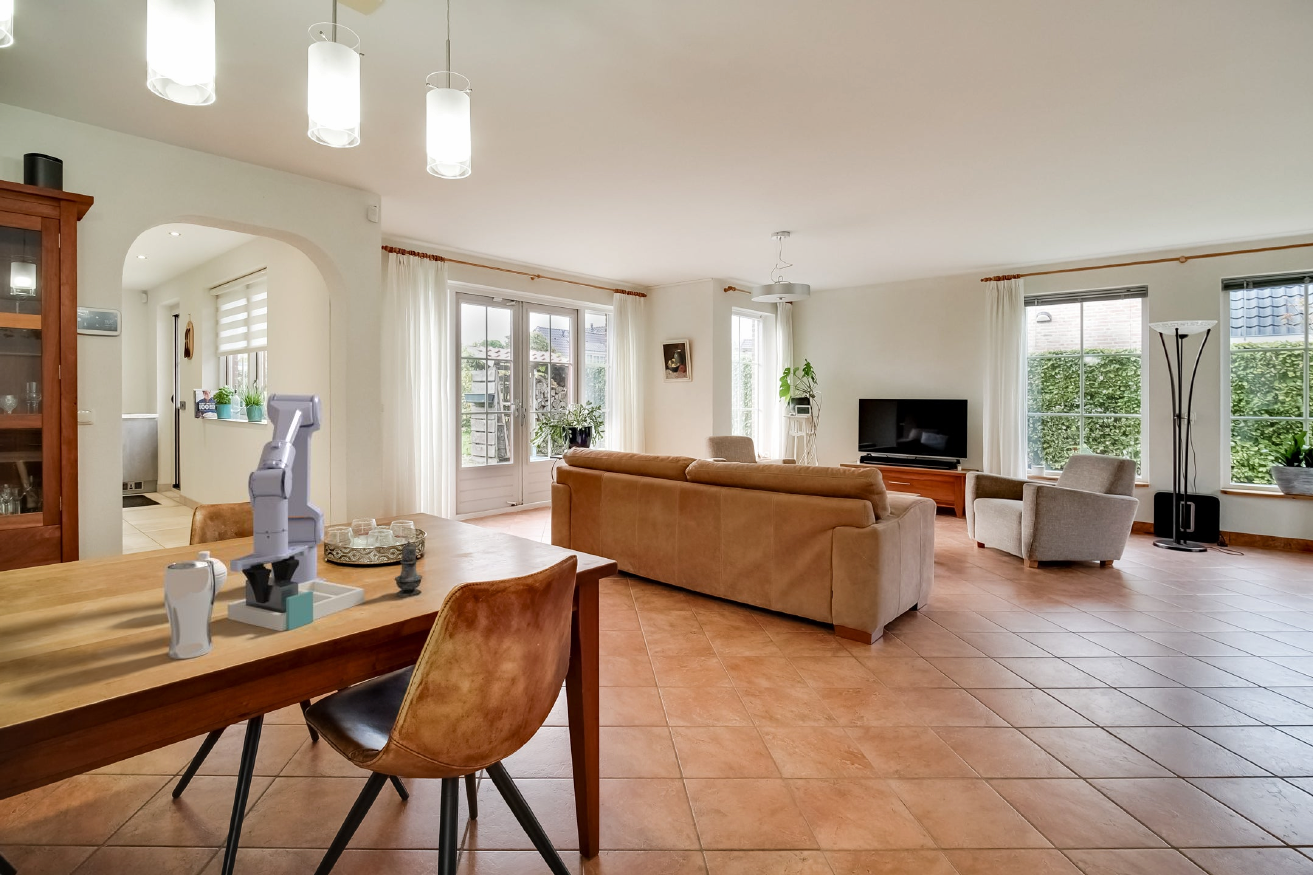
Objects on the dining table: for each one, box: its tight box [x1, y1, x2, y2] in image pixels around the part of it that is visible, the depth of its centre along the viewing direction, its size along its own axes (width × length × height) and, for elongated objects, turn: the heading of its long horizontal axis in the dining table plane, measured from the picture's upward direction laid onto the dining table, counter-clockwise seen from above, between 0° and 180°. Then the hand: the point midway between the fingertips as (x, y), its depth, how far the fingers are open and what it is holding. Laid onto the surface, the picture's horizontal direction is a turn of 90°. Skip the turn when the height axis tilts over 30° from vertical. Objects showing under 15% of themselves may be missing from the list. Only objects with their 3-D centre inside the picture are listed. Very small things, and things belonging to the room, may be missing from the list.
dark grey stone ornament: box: [394, 540, 424, 598], centre depth 141 cm, size 6×6×12 cm
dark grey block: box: [245, 576, 298, 614], centre depth 122 cm, size 10×4×7 cm, turn 68°
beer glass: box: [163, 559, 216, 660], centre depth 106 cm, size 7×7×15 cm
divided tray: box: [227, 580, 366, 632], centre depth 128 cm, size 16×19×6 cm
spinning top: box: [195, 550, 228, 597], centre depth 126 cm, size 8×8×12 cm
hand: (271, 599), depth 122 cm, fingers closed on dark grey block, 3 cm apart
